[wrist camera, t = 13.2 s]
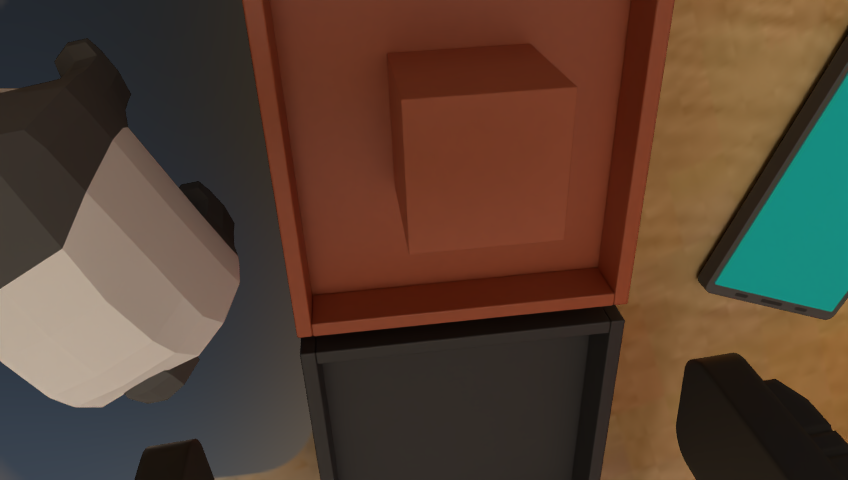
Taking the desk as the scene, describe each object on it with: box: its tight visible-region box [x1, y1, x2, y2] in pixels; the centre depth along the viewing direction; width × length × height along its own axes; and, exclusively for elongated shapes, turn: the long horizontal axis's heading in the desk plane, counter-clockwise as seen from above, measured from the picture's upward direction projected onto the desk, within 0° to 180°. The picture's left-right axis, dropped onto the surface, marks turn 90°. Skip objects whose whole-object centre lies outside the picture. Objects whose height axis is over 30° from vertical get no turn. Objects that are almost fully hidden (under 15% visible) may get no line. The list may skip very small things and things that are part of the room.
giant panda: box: [0, 38, 240, 407], centre depth 19 cm, size 15×6×10 cm, turn 28°
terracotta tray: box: [242, 0, 675, 338], centre depth 23 cm, size 13×15×3 cm
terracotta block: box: [387, 44, 578, 255], centre depth 22 cm, size 5×5×5 cm
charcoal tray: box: [300, 304, 625, 480], centre depth 31 cm, size 13×15×3 cm
